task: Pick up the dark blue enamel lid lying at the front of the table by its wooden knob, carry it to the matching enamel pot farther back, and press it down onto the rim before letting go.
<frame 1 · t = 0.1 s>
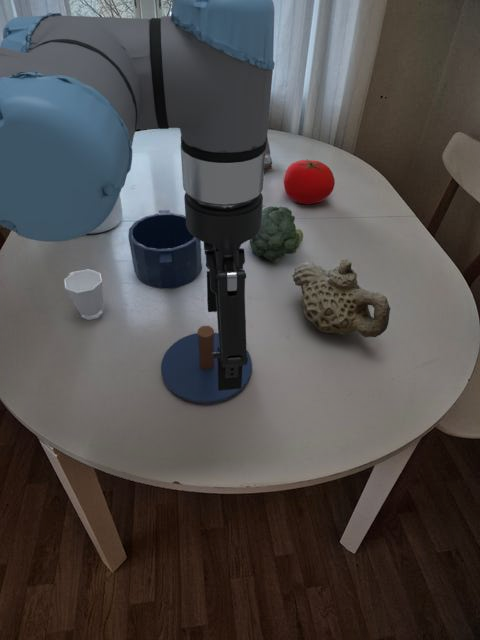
hand: (222, 345, 55), 17 cm above the table, tool pointing down, fingers open, 13 cm apart
potted plant: (237, 164, 136), on the table
cup: (88, 309, 85), on the table
teapot: (331, 326, 84), on the table
pot lid: (206, 366, 74), point 1 cm above the table
tomato: (305, 199, 121), on the table
pot: (168, 267, 95), on the table
vegetable: (274, 252, 102), on the table
vase: (95, 221, 109), on the table
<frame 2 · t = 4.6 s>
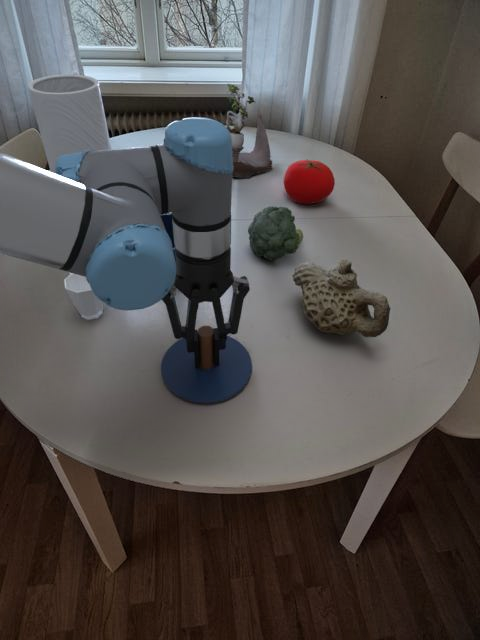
hand: (206, 361, 73), 2 cm above the table, tool pointing down, fingers closed on pot lid, 3 cm apart
pot lid: (206, 366, 74), point 1 cm above the table, touching gripper
everything else where it was.
when the fingers open (11 cm above the table, at t = 12.2 s): pot lid stays where it is, resting on pot.
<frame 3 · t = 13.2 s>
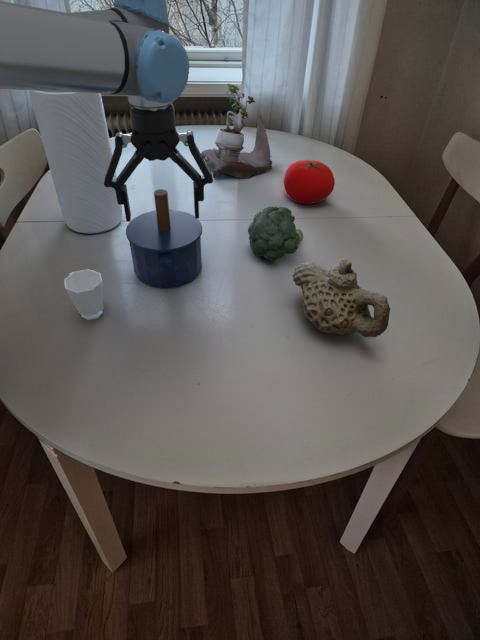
hand: (163, 216, 87), 13 cm above the table, tool pointing down, fingers open, 13 cm apart
pot lid: (164, 230, 89), point 9 cm above the table, touching pot
everything else where it was.
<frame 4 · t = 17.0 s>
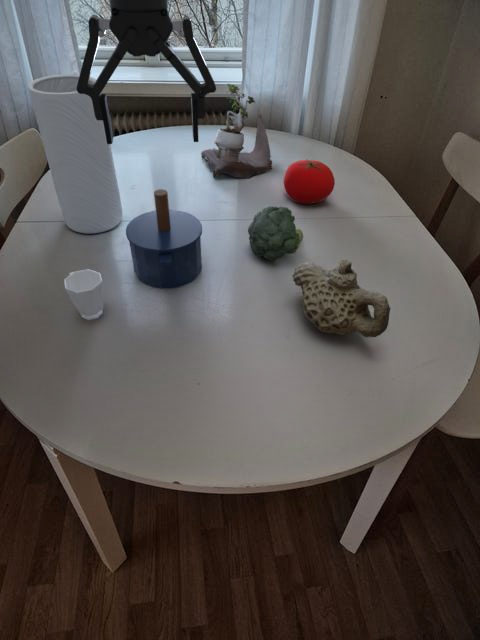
hand: (153, 140, 69), 31 cm above the table, tool pointing down, fingers open, 13 cm apart
nothing on the table moved.
at the end: pot lid 0.0 cm off-centre on the pot, point 9.5 cm above the pot's base; pot lid tilted 0°; the gripper is holding nothing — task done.
